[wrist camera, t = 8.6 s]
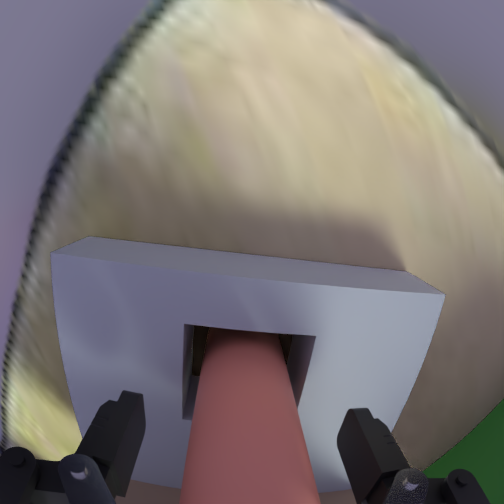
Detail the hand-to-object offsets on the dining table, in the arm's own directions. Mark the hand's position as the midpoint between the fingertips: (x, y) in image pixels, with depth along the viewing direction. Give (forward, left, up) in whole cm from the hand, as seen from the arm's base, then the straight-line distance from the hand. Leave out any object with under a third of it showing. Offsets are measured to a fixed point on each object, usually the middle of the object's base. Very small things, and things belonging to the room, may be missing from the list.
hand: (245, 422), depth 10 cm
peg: (0, 0, -7) cm, 7 cm away
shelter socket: (-3, 0, -7) cm, 7 cm away
